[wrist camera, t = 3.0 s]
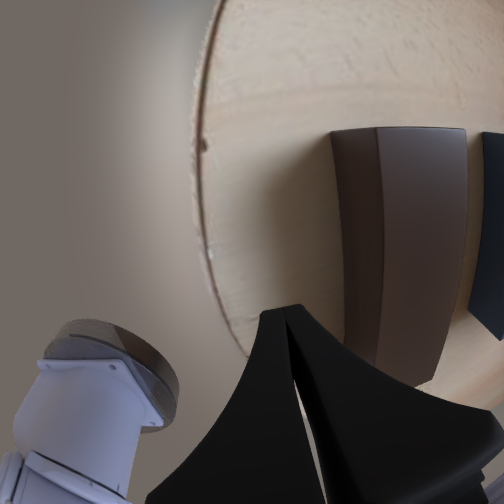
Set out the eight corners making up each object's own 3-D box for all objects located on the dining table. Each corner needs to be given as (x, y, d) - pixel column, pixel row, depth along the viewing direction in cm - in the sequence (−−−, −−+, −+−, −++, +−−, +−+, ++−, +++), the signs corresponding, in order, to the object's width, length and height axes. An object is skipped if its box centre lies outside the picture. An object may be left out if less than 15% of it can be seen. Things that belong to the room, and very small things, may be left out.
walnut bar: (343, 355, 15) (366, 405, 11) (329, 131, 10) (374, 126, 6) (401, 336, 15) (432, 379, 11) (406, 127, 10) (466, 128, 6)
